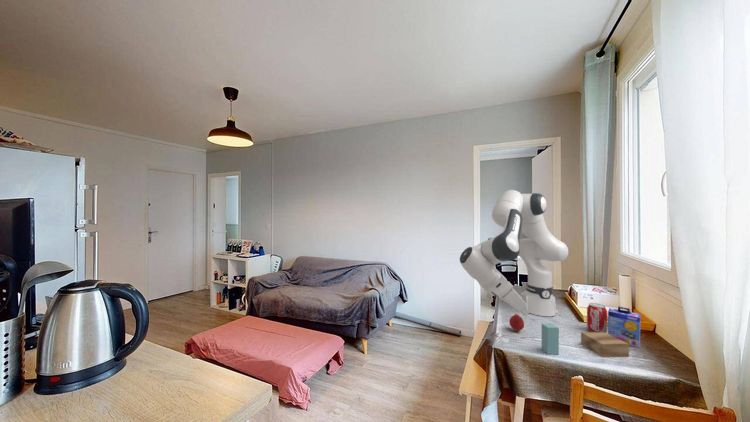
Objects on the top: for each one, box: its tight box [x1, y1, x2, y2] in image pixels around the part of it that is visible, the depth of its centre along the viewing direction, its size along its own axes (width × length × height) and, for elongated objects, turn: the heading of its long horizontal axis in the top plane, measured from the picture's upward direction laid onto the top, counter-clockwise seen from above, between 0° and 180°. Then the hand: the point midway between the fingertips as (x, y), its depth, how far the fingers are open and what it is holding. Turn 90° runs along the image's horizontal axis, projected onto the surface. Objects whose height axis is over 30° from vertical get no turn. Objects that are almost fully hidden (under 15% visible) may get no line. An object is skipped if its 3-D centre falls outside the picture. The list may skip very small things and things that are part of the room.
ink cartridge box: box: [607, 306, 641, 348], centre depth 113 cm, size 10×6×14 cm, turn 45°
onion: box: [509, 312, 525, 332], centre depth 122 cm, size 6×6×8 cm
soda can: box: [586, 302, 608, 334], centre depth 122 cm, size 7×7×12 cm
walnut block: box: [580, 331, 630, 358], centre depth 106 cm, size 10×10×5 cm
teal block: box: [541, 322, 560, 356], centre depth 104 cm, size 4×4×10 cm
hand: (520, 309), depth 104 cm, fingers open, 8 cm apart
